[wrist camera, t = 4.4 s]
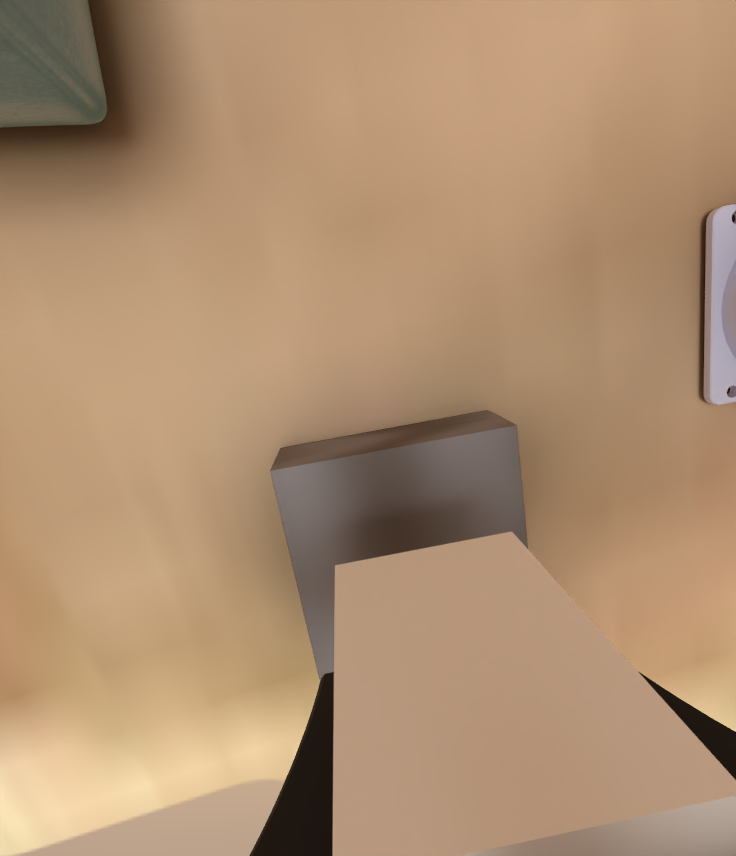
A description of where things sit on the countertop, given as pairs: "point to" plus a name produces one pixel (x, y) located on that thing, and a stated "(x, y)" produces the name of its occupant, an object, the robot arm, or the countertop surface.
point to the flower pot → (49, 64)
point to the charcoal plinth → (392, 501)
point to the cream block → (503, 720)
